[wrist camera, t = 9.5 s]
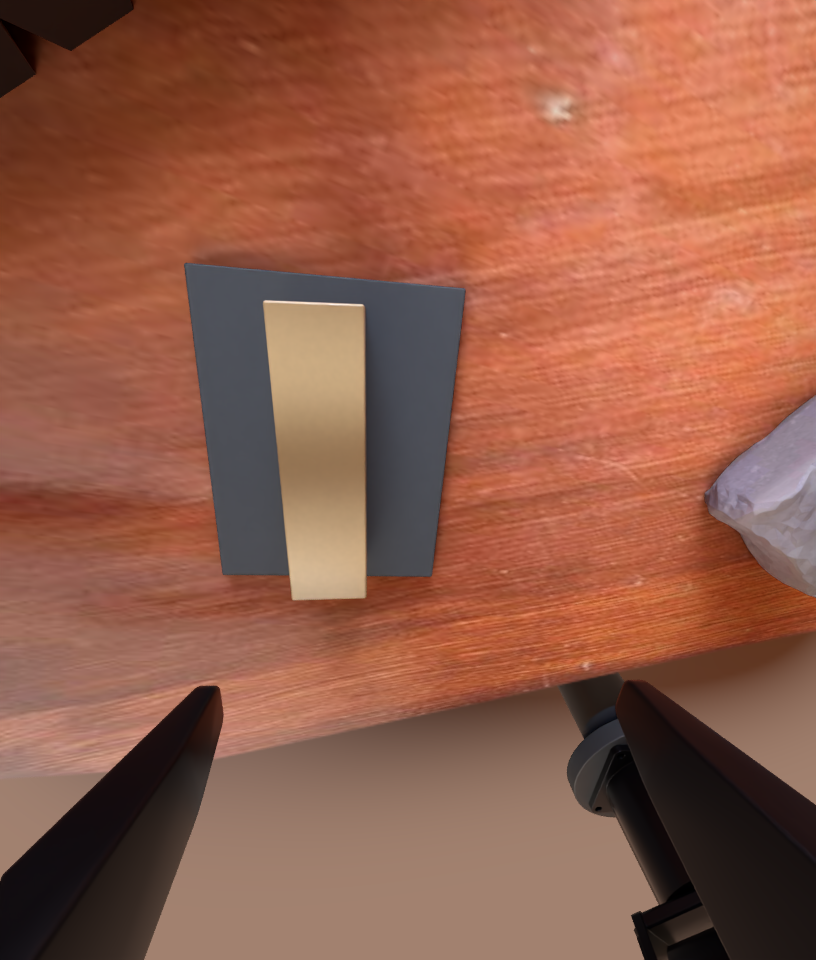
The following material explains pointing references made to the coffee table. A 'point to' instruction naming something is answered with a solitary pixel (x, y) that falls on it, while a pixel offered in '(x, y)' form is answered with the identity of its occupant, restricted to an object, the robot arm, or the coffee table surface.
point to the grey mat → (389, 410)
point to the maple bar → (321, 443)
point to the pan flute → (51, 29)
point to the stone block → (775, 499)
